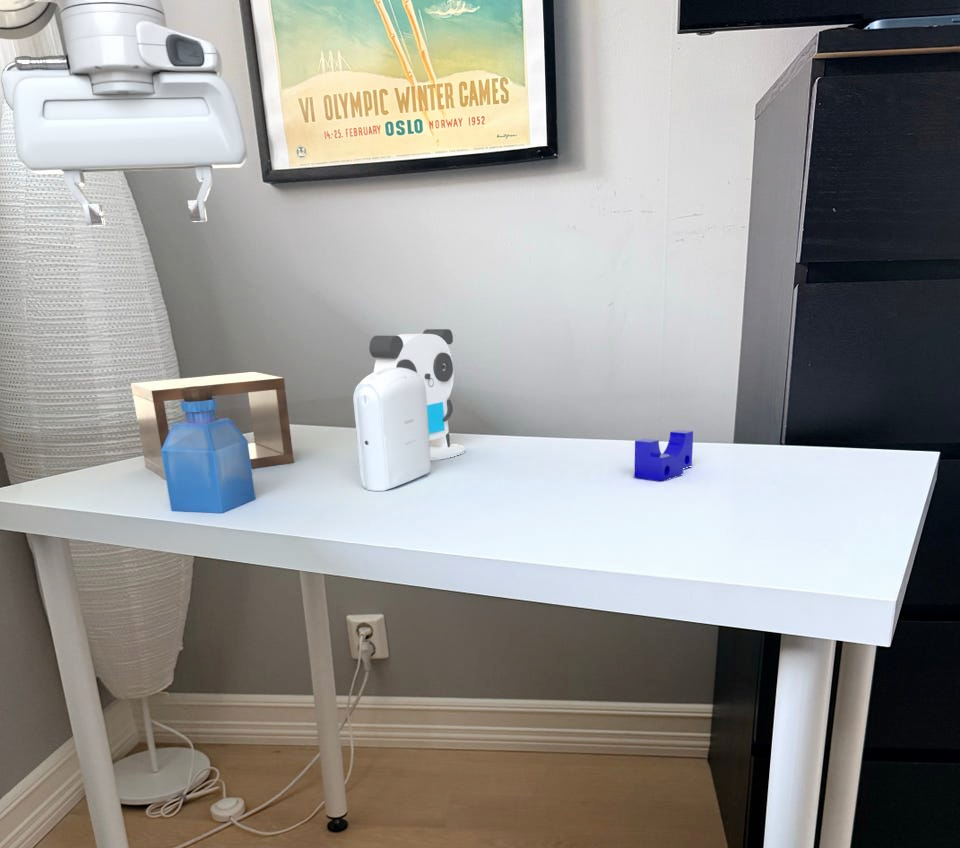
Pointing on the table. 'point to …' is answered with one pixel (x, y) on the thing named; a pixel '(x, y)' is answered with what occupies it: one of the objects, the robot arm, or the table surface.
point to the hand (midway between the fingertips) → (148, 223)
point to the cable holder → (663, 456)
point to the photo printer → (392, 428)
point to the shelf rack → (261, 389)
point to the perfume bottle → (206, 458)
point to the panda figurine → (425, 378)
